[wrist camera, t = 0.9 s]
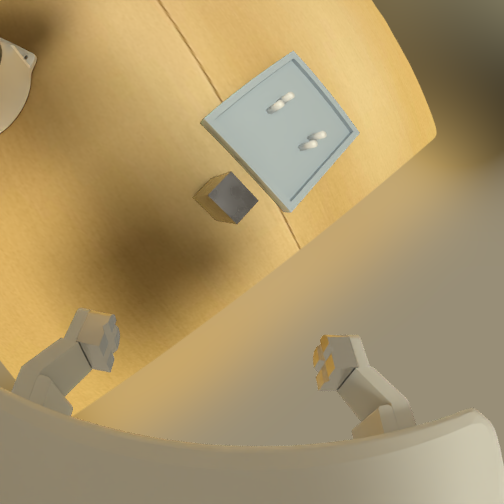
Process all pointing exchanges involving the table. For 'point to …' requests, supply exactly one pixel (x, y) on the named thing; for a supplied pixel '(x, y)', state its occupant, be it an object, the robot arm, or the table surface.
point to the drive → (226, 198)
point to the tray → (283, 130)
